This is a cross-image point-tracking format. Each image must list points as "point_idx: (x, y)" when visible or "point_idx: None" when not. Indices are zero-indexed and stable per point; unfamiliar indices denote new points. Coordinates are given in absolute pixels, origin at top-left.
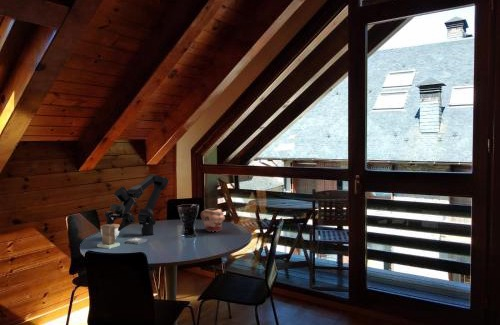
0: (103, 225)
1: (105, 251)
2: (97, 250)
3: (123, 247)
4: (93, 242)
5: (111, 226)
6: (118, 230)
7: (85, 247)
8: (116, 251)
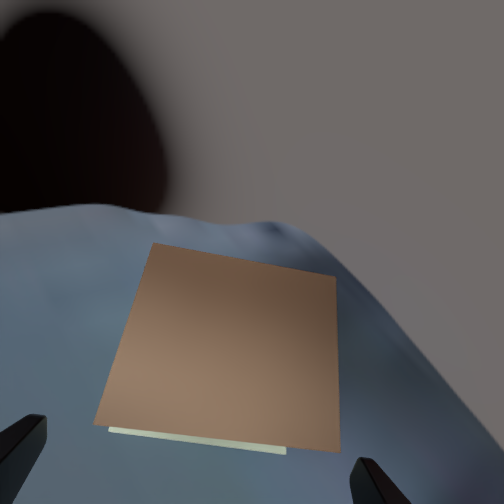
0: (321, 296)
1: (143, 222)
2: (216, 233)
3: (39, 363)
4: (433, 444)
5: (133, 316)
6: (32, 422)
7: (351, 281)
8: (53, 236)
